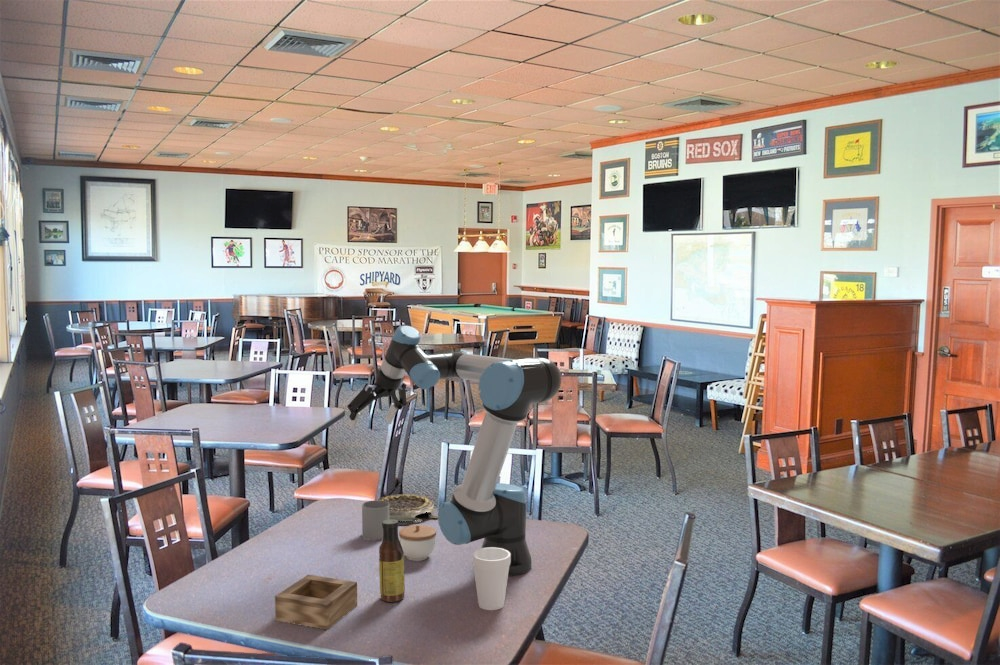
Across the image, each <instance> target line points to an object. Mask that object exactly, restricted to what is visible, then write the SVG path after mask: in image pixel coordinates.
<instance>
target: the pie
mask: <svg viewBox="0 0 1000 665" xmlns="http://www.w3.org/2000/svg"><path fill="white" fill-rule="evenodd" d="M375 500H381V501H386V502H388V503H389V519H395V520H397V521H400V522H399V523H403V521H405V522H406V521H413V522H410V523H408V524H406V526H410V524H418V523H417V522H419V523H421V522H420V521H422V522H423V519H422V518H418V517H416V516H418V515H422V514H425V513H426V512H427V513H426V514H428V513H429V514H428V515H427V518H429V519H433V518H435V519H438V515H432V511H433V509H434V507H435V504H434V502H433V499H431V498H430V497H429V496H428V495H422V494H421V495H420V494H418V495H417V494H416V495H415V494H413V493H412V494H408V493H407V494H406V493H405V494H403V493H402V494H399V493H398V494H391V495H386V496H380V497H379V498H376V499H375ZM415 520H416V521H415ZM401 521H402V522H401Z"/></svg>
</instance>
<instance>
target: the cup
mask: <svg viewBox="0 0 1000 665" xmlns="http://www.w3.org/2000/svg"><path fill="white" fill-rule="evenodd" d="M361 511H362V512H361V514H362V516H361V520H362V521H361V524H362V526H361V527H362V529H361V531H362V533H361V534H362V535H361V536H362V538H363V539H364V538H365V540H367V541H368V540H369V541H379V540H380V539H381V540H383V527H382V522H383V521H384V520H389V503H388V502H386V501H381V500H376V499H375V500H369V501H365V502H363V503H362V504H361Z"/></svg>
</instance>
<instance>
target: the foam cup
mask: <svg viewBox="0 0 1000 665" xmlns="http://www.w3.org/2000/svg"><path fill="white" fill-rule="evenodd" d="M510 563H511V553H510V552H509V551H508V550H505V549H502V548H496V547H486V548H478V549H476V550H474V551H473V552H472V565H473V572H474V578H475V587H476V596H477V603H478V606H479V608H480V609H483V610H486V611H496V610H500V609H502V608H504V606H505V601H506V599H505V598H506V594H507V592H506V591H507V585H508V579H509V576H508V572H509V566H510Z"/></svg>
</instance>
